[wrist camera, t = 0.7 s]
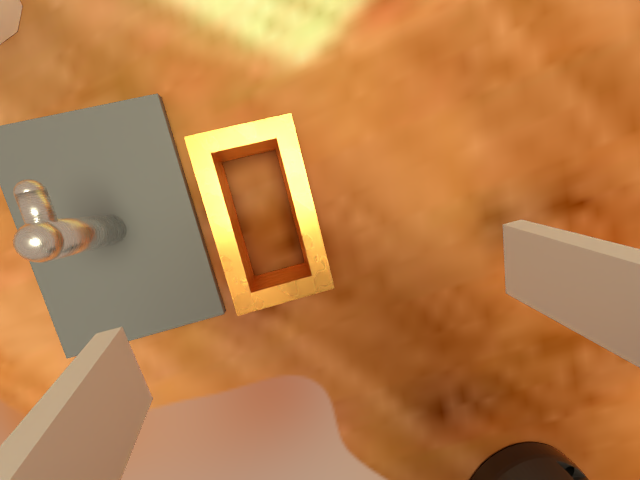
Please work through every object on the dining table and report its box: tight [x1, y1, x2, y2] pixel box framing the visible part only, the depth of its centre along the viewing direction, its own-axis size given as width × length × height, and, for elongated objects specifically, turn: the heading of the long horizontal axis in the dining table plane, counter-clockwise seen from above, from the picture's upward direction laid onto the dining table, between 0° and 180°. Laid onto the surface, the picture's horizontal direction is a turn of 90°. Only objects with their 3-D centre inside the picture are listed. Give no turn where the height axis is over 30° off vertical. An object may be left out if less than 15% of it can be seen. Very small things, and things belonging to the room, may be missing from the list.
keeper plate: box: [0, 94, 226, 358], centre depth 30 cm, size 20×14×1 cm
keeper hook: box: [13, 179, 127, 262], centre depth 24 cm, size 5×2×10 cm, turn 14°
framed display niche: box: [184, 113, 334, 316], centre depth 29 cm, size 14×8×6 cm, turn 14°
